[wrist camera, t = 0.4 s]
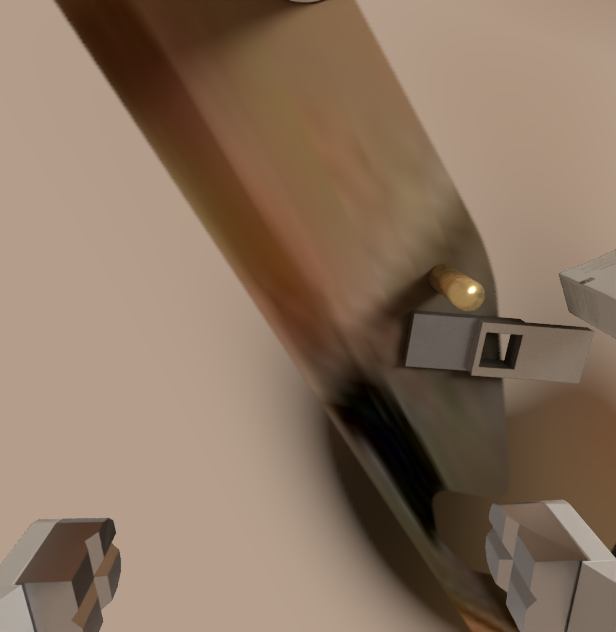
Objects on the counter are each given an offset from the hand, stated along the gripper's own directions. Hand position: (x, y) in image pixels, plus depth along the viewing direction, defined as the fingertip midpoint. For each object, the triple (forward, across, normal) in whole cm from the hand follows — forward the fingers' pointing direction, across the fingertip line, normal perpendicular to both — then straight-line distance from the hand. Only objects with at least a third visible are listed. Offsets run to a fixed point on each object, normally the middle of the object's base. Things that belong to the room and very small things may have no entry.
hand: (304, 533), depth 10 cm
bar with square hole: (+45, -25, +14) cm, 53 cm away
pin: (+45, -18, +5) cm, 49 cm away
